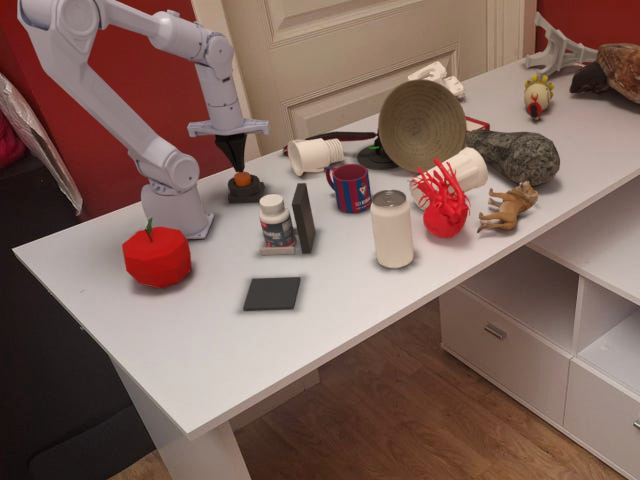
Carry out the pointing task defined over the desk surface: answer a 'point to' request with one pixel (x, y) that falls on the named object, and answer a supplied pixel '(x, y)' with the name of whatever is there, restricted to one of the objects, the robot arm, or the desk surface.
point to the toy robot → (376, 157)
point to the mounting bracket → (440, 78)
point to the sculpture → (611, 72)
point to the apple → (157, 256)
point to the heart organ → (443, 202)
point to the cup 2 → (467, 174)
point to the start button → (242, 178)
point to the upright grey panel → (298, 224)
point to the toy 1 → (340, 137)
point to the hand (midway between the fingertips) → (240, 169)
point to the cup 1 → (350, 187)
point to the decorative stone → (517, 154)
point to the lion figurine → (509, 206)
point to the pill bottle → (276, 222)
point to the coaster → (272, 293)
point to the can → (392, 228)
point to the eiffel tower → (558, 51)
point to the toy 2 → (537, 95)
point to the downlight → (313, 154)
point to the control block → (245, 191)
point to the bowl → (421, 124)
